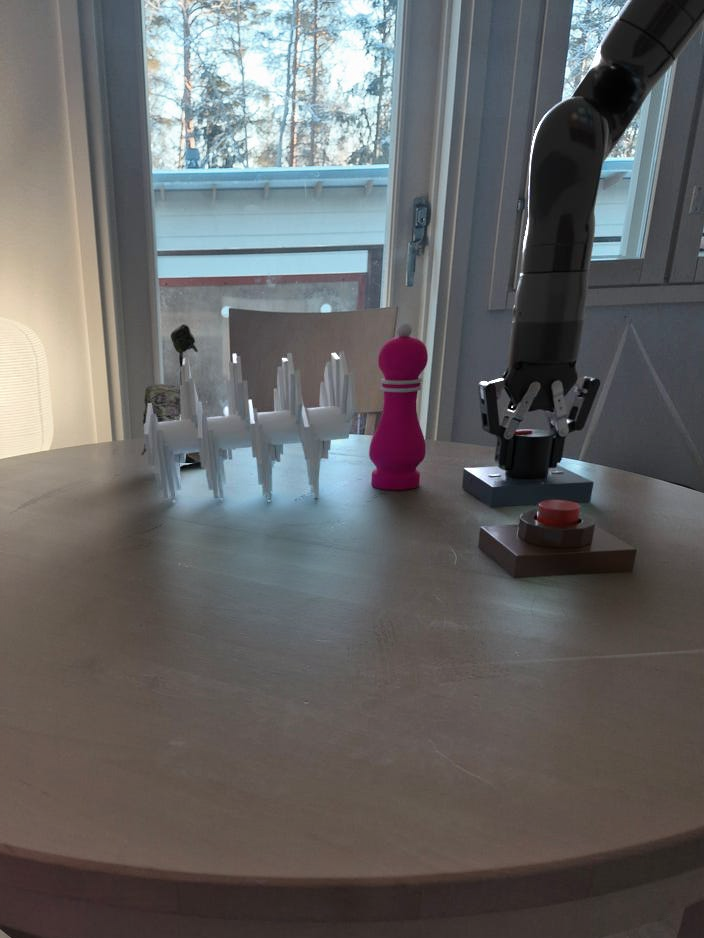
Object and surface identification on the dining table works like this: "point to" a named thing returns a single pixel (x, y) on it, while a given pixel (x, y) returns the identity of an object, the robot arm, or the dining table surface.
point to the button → (558, 512)
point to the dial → (531, 454)
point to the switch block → (555, 548)
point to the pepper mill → (399, 414)
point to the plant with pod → (171, 389)
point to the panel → (525, 487)
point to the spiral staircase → (252, 426)
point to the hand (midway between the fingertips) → (527, 467)
